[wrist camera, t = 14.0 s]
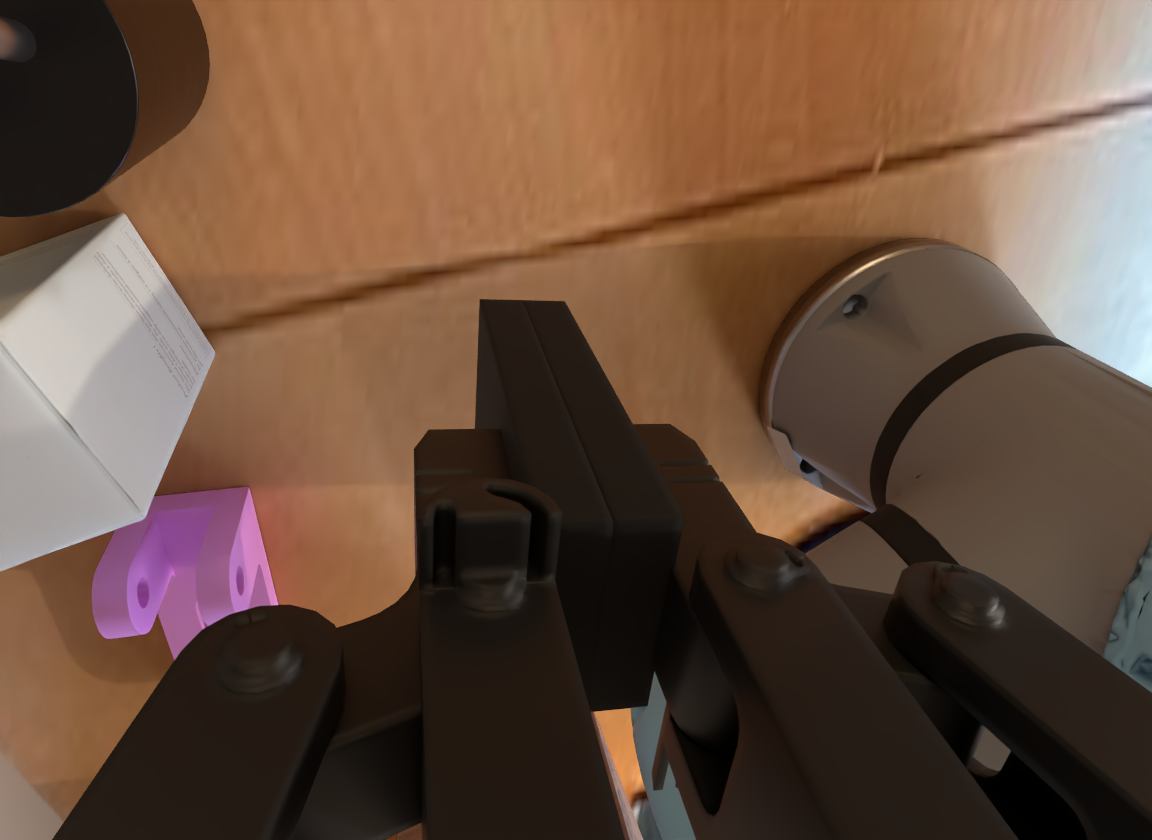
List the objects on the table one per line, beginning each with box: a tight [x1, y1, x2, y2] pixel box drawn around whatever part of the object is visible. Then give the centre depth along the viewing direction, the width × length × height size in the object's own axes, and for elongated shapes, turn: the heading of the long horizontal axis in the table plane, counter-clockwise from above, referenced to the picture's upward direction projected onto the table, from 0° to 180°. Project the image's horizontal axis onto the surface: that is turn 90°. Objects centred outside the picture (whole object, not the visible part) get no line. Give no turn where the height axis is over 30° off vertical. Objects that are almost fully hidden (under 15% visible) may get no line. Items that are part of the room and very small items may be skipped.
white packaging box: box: [0, 213, 215, 572], centre depth 28 cm, size 7×7×13 cm
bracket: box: [92, 486, 278, 661], centre depth 38 cm, size 13×6×7 cm, turn 179°
